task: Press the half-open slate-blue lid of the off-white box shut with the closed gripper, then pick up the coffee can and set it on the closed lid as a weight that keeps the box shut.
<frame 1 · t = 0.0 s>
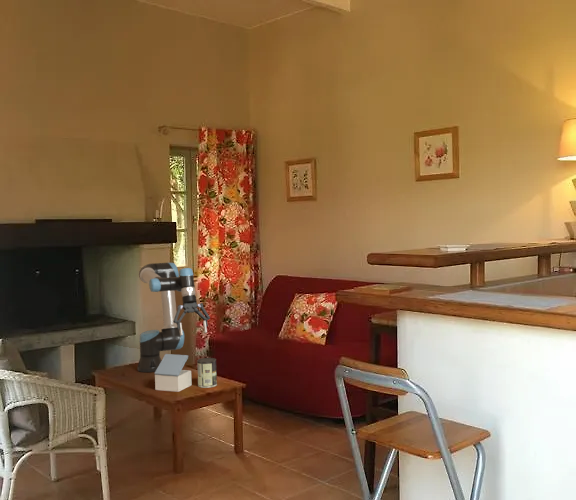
hand: (193, 334, 353), 28 cm above the table, tool tilted 20°, fingers open, 13 cm apart
coffee can: (207, 385, 352), on the table
box: (173, 387, 349), on the table
lid: (166, 375, 342), point 8 cm above the table, hinge at 35.0°
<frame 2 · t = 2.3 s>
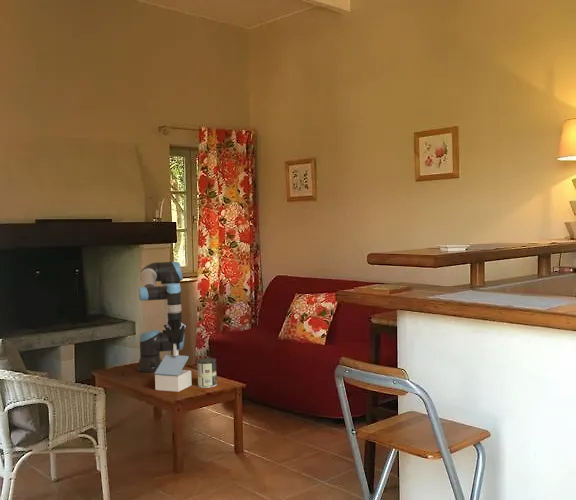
hand: (176, 355, 351), 17 cm above the table, tool pointing down, fingers closed
lid: (166, 375, 342), point 8 cm above the table, hinge at 32.6°, touching gripper
everything else where it was.
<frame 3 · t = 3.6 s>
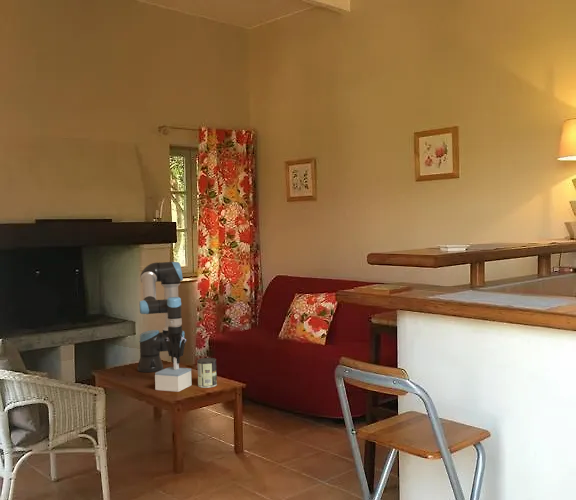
hand: (176, 369, 351), 9 cm above the table, tool pointing down, fingers closed
lid: (166, 375, 342), point 8 cm above the table, hinge at 0.0°, touching gripper
everything else where it was.
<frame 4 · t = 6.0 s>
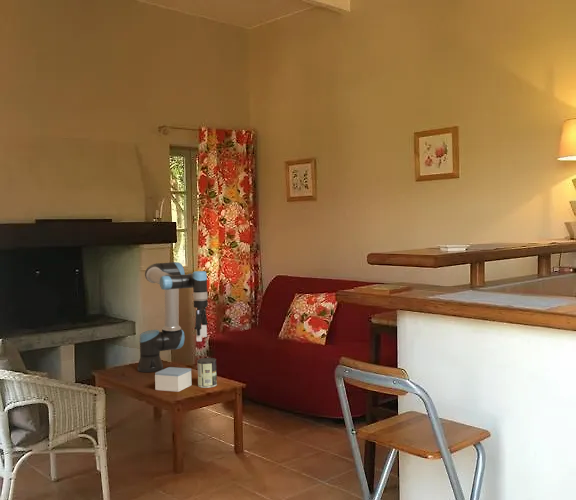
hand: (201, 339, 350), 25 cm above the table, tool pointing down, fingers open, 13 cm apart
lid: (166, 375, 342), point 8 cm above the table, hinge at 0.0°
everything else where it was.
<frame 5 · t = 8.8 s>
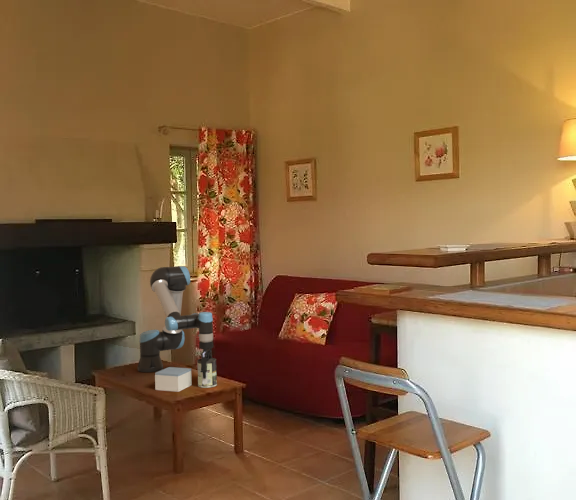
hand: (207, 381, 352), 2 cm above the table, tool pointing down, fingers closed on coffee can, 10 cm apart
coffee can: (207, 385, 352), on the table, touching gripper
everything else where it was.
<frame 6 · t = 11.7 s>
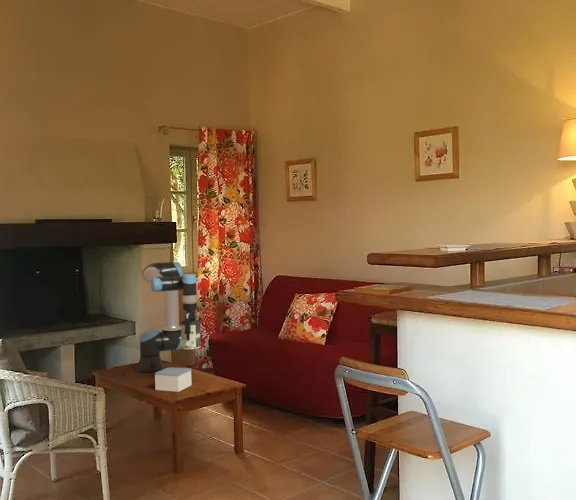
hand: (190, 343, 350), 23 cm above the table, tool pointing down, fingers closed on coffee can, 10 cm apart
coffee can: (191, 347, 350), point 21 cm above the table, touching gripper
everything else where it was.
when the fingers open (13 cm above the table, at t = 14.9 s): coffee can drops 2 cm, resting on lid.
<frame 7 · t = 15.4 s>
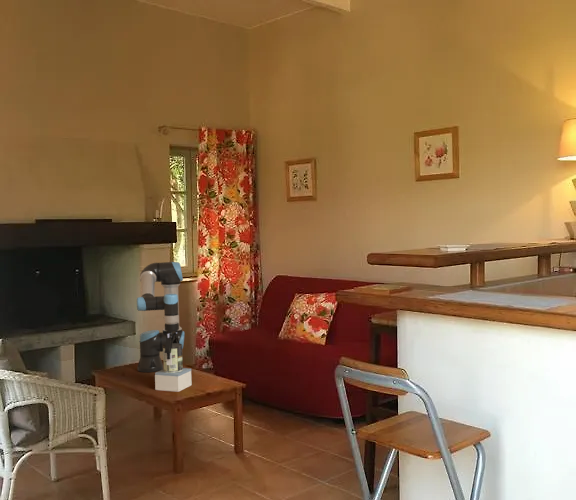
hand: (172, 362, 348), 14 cm above the table, tool pointing down, fingers open, 13 cm apart
coffee can: (173, 371, 349), point 9 cm above the table, touching lid
lid: (166, 375, 342), point 8 cm above the table, hinge at -0.2°, touching coffee can
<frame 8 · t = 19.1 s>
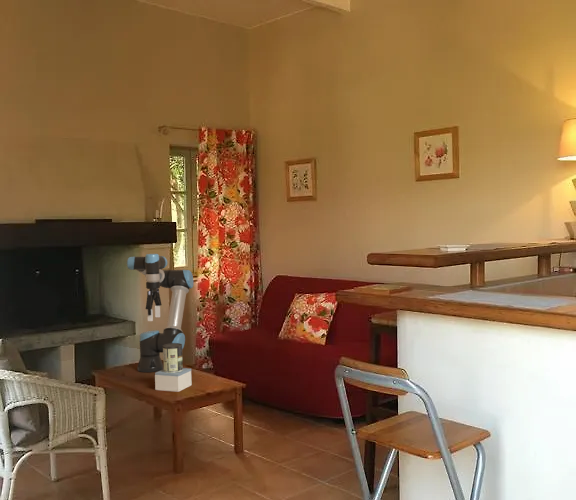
hand: (154, 319, 364), 35 cm above the table, tool pointing down, fingers open, 13 cm apart
nothing on the table moved.
at the end: lid at +0° (first picture: +35°); coffee can inside the target area on the box (0.0 cm from its centre), point 8.8 cm above the box's base; coffee can tilted 0° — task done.
